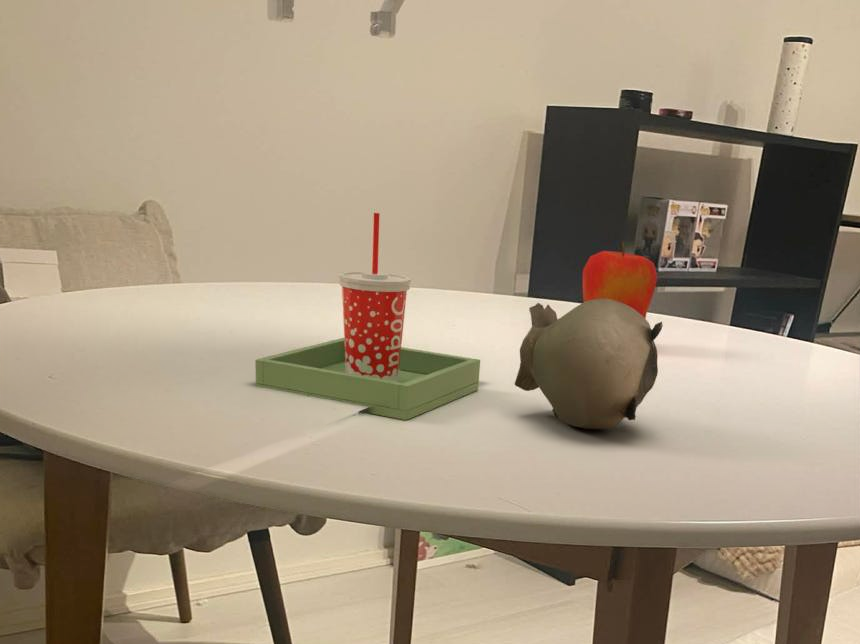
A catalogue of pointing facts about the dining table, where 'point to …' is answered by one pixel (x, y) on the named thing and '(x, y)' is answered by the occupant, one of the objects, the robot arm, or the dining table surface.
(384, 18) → the robot arm
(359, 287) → the beverage cup
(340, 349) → the drinks tray
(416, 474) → the dining table surface
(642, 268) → the apple
